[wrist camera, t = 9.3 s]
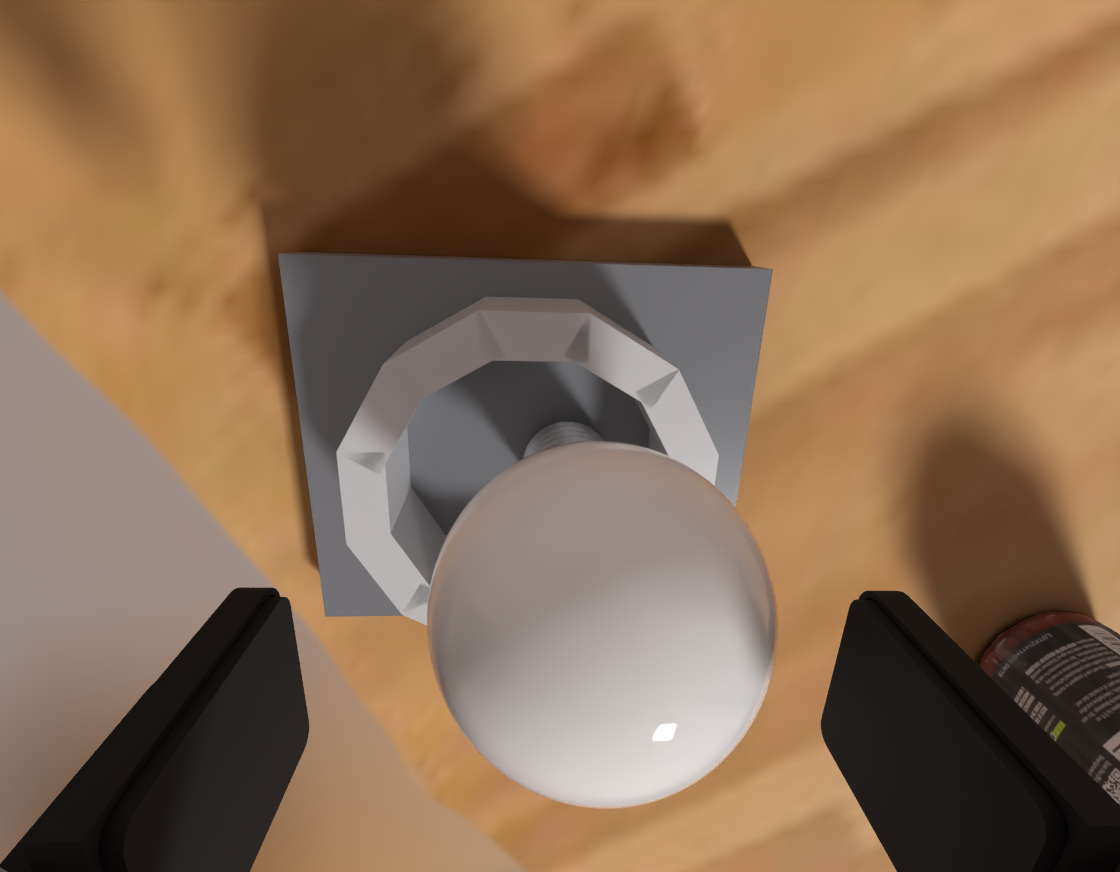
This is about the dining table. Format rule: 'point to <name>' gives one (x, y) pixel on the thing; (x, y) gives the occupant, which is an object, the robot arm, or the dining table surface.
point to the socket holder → (496, 389)
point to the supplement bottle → (1066, 686)
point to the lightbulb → (601, 622)
